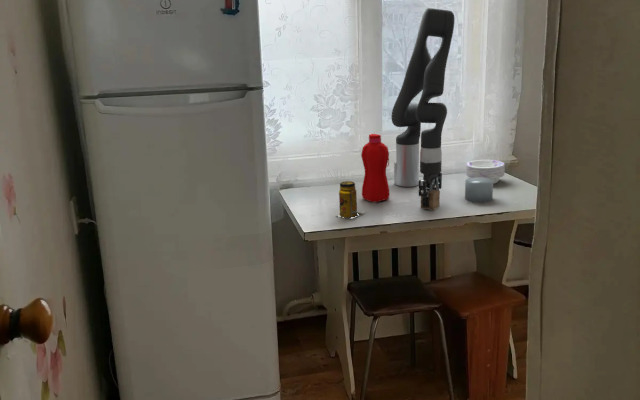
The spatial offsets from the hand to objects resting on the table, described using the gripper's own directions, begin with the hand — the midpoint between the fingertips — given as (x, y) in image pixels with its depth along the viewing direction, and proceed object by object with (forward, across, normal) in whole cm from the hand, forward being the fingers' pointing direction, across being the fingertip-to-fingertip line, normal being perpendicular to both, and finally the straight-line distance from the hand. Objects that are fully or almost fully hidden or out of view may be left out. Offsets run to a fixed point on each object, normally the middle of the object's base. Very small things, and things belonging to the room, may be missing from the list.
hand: (430, 204), depth 217 cm
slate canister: (+1, -18, +11) cm, 21 cm away
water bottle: (+1, 0, -22) cm, 22 cm away
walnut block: (+1, 0, 0) cm, 1 cm away
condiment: (+1, +22, -20) cm, 30 cm away
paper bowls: (+1, -42, +4) cm, 42 cm away
